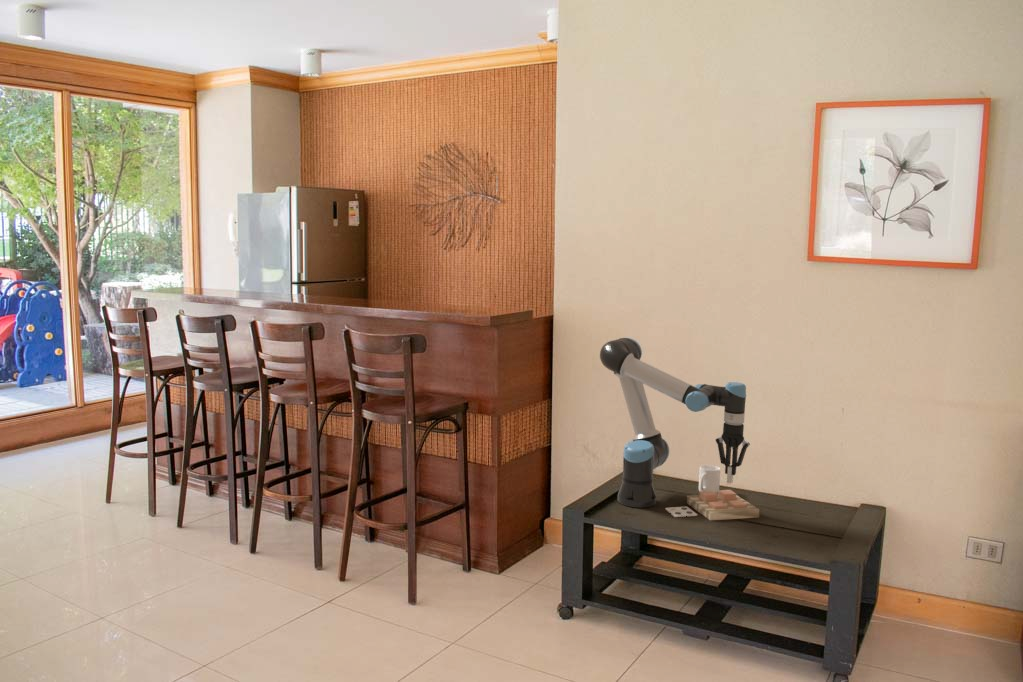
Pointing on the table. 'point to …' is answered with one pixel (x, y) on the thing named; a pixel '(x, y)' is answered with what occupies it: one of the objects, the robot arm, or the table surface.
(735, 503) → the button
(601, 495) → the table surface
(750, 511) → the board
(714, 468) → the cup
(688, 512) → the card
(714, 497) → the button
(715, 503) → the button
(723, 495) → the button
